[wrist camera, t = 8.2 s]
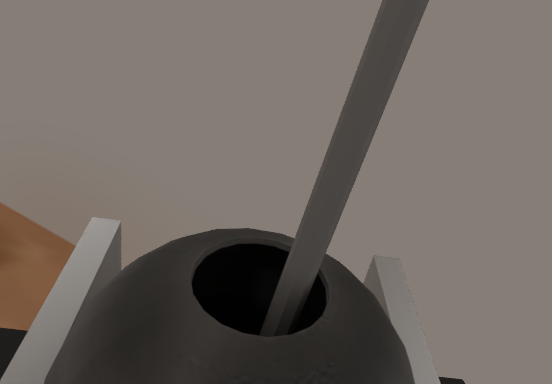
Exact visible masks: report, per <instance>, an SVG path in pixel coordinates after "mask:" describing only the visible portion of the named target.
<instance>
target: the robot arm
mask: <svg viewBox="0 0 552 384" xmlns="http://www.w3.org/2000/svg"><path fill="white" fill-rule="evenodd" d="M119 272H121V221H117V220H110V219H102V218H95V217H92V219H91V221H90V223H89V224H88V226H87V228H86V230H85V232H84V233H83V235H82V237H81V239H80V240H79V242H78V244H77V246H76V247H75V249H74V251H73V253H72V254H71V256H70V258H69V260H68V262H67V263H66V265H65V267H64V269H63V270H62V272H61V274H60V276H59V277H58V279H57V281H56V283H55V284H54V286H53V288H52V290H51V292H50V293H49V295H48V297H47V299H46V300H45V302H44V304H43V306H42V307H41V309H40V311H39V313H38V315H37V316H36V318H35V320H34V322H33V323H32V325H31V327H30V329H29V330H28V331H24V330H16V329H7V328H0V384H44V381H45V378H46V376H47V374H48V372H49V370H50V368H51V366H52V364H53V362H54V360H55V358H56V356H57V354H58V352H59V351H60V349H61V347H62V345H63V343H64V341H65V339H66V338H67V336H68V334H69V332H70V330H71V328H72V326H73V325H74V323H75V321H76V319H77V317H78V315H79V313H80V312H81V311H82V310H83V309H84V307H85V306H86V305H87V304H88V303H89V302H90V300H91V299H92V298H93V297H94V296H95V295H96V294H97V293H98V292H99V291H100V290H101V289H103V288H104V287H105V286H106V285H107V284H108V283H109V282H110V281H111V280H112V279H113V278H114V277H115V276H116V275H117V274H118V273H119ZM363 285H364V286H365V287H367V288H368V289H369V290H370V291H371V292H372V293H373V294H374V295H375V297H376V298H377V300H378V302H379V303H380V305H381V306H382V308H383V310H384V311H385V313H386V315H387V316H388V318H389V320H390V322H391V323H392V325H393V327H394V328H395V330H396V332H397V334H398V335H399V337H400V339H401V340H402V342H403V344H404V346H405V348H406V352H407V355H408V358H409V361H410V364H411V368H412V373H413V377H414V381H415V384H465V383H464V381H463V380H462V379H454V378H445V377H438V374H437V372H436V368H435V365H434V362H433V359H432V356H431V353H430V350H429V347H428V344H427V341H426V338H425V335H424V332H423V329H422V326H421V323H420V320H419V317H418V314H417V311H416V308H415V305H414V302H413V299H412V296H411V293H410V290H409V287H408V284H407V281H406V278H405V274H404V271H403V268H402V266H401V263H400V259H396V258H388V257H381V256H375V255H374V256H373V259H372V262H371V264H370V267H369V270H368V273H367V276H366V278H365V281H364V284H363Z"/></svg>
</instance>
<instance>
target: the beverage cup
mask: <svg viewBox="0 0 552 384" xmlns="http://www.w3.org/2000/svg"><path fill="white" fill-rule="evenodd" d="M428 1H429V0H383V1H382V3H381V6H380V8H379V11H378V14H377V17H376V19H375V22H374V25H373V28H372V30H371V33H370V36H369V38H368V41H367V44H366V46H365V49H364V52H363V55H362V57H361V60H360V63H359V65H358V68H357V71H356V74H355V76H354V79H353V82H352V84H351V87H350V90H349V93H348V96H347V98H346V101H345V104H344V106H343V109H342V112H341V114H340V117H339V120H338V123H337V126H336V128H335V131H334V133H333V136H332V139H331V142H330V144H329V147H328V150H327V152H326V155H325V158H324V161H323V163H322V166H321V169H320V171H319V174H318V177H317V180H316V182H315V185H314V188H313V190H312V193H311V196H310V199H309V201H308V204H307V207H306V209H305V212H304V215H303V218H302V220H301V223H300V226H299V228H298V231H297V234H296V237H295V239H294V238H291V237H289V236H286V235H283V234H279V233H274V232H268V231H261V230H256V229H249V228H244V229H243V228H242V229H216V230H211V231H207V232H203V233H198V234H194V235H190V236H186V237H182V238H179V239H176V240H173V241H170V242H169V243H167V244H165V245H163V246H161V247H159V248H157V249H155V250H153V251H151V252H149V253H147V254H145V255H143V256H142V257H139V258H138V259H136V260H135V261H134V262H132V263H131V264H129V265H128V266H126V267H125V268H124V269H123V270H122V271H121V272H119V273H118V274H117V275H116V276H115V277H114V278H113V279H112V280H111V281H110V282H109V283H108V284H107V285H106V286H105V287H104V288H103V289H101V290H100V291H99V292H98V293H97V294H96V295H95V296H94V297H93V298H92V299H91V300H90V302H89V303H88V304H87V305H86V306H85V307H84V309H83V310H82V311H81V312H80V313H79V315H78V317H77V319H76V321H75V323H74V325H73V326H72V328H71V330H70V332H69V334H68V336H67V338H66V339H65V341H64V343H63V345H62V347H61V349H60V351H59V352H58V354H57V356H56V358H55V360H54V362H53V364H52V366H51V368H50V370H49V372H48V374H47V376H46V378H45V381H44V384H415V381H414V377H413V373H412V368H411V364H410V361H409V358H408V355H407V352H406V348H405V346H404V344H403V342H402V340H401V339H400V337H399V335H398V334H397V332H396V330H395V328H394V327H393V325H392V323H391V322H390V320H389V318H388V316H387V315H386V313H385V311H384V310H383V308H382V306H381V305H380V303H379V302H378V300H377V298H376V297H375V295H374V294H373V293H372V292H371V291H370V290H369V289H368V288H367V287H365V286H364V285H363V284H362V283H361V282H360V281H359V280H358V279H357V278H356V277H355V276H354V275H353V274H352V273H351V272H350V271H349V270H348V269H347V268H346V267H344V266H343V265H342V264H341V263H340V262H339V261H337V260H335V259H334V258H332V257H330V256H329V255H327V254H326V250H327V248H328V246H329V243H330V241H331V238H332V236H333V234H334V231H335V229H336V226H337V224H338V221H339V219H340V216H341V214H342V211H343V209H344V207H345V204H346V202H347V199H348V197H349V194H350V192H351V189H352V187H353V185H354V182H355V180H356V177H357V175H358V172H359V170H360V167H361V165H362V162H363V160H364V157H365V155H366V153H367V150H368V148H369V146H370V143H371V140H372V138H373V136H374V133H375V131H376V128H377V126H378V124H379V121H380V119H381V116H382V114H383V111H384V109H385V106H386V104H387V101H388V99H389V97H390V94H391V92H392V89H393V87H394V84H395V82H396V79H397V77H398V74H399V72H400V70H401V67H402V65H403V62H404V60H405V57H406V55H407V52H408V50H409V48H410V45H411V43H412V40H413V38H414V35H415V33H416V31H417V28H418V26H419V23H420V21H421V18H422V16H423V13H424V11H425V9H426V6H427V3H428Z"/></svg>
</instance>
